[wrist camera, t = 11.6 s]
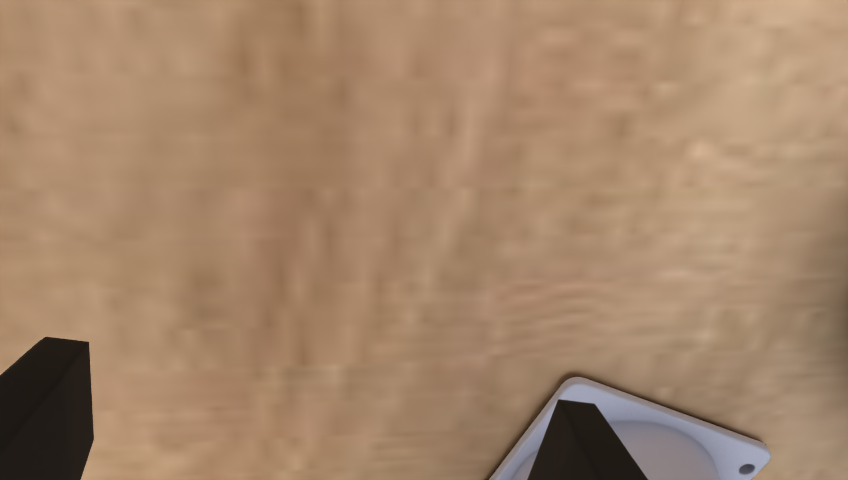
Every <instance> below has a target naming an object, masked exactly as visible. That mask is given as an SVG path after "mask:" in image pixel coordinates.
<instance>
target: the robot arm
mask: <svg viewBox="0 0 848 480" xmlns="http://www.w3.org/2000/svg"><path fill="white" fill-rule="evenodd" d="M93 440H94V434H93V414H92V394H91V374H90V354H89V342H85V341H77V340H68V339H60V338H52V337H45V338H43V339H42V340H40V341H39V342H38V343H37V344H35V345H34V346H33V347H32V348H31V349H30V350H29V351H27V352H26V353H25V354H24V355H23V356H22V357H21V358H19V359H18V360H17V361H16V362H15V363H14V364H13V365H11V366H10V367H9V368H8V369H7V370H6V371H5V372H4V373H2V374H1V375H0V480H80V479H81V476H82V474H83V471H84V468H85V464H86V461H87V458H88V455H89V452H90V449H91V446H92V443H93ZM770 459H771V454H770V452H769V450H768V448H767V446H766V444H764V443H762V442H760V441H757V440H754V439H752V438H749V437H746V436H743V435H741V434H738V433H735V432H732V431H730V430H727V429H724V428H721V427H719V426H716V425H713V424H710V423H708V422H705V421H702V420H699V419H697V418H694V417H691V416H688V415H686V414H683V413H680V412H677V411H674V410H672V409H669V408H666V407H663V406H661V405H658V404H655V403H652V402H650V401H647V400H644V399H641V398H639V397H636V396H633V395H630V394H628V393H625V392H622V391H619V390H617V389H614V388H611V387H608V386H606V385H603V384H600V383H597V382H595V381H592V380H589V379H586V378H583V377H572V378H570V379H568V380H566V381H565V382H564V383H563V384H562V385H561V386H560V387H559V389H558V390H557V391H556V393H555V394H554V395H553V397H552V398H551V399H550V400H549V402H548V403H547V404H546V406H545V407H544V408H543V410H542V411H541V412H540V414H539V415H538V416H537V417H536V419H535V420H534V421H533V423H532V424H531V425H530V427H529V428H528V429H527V431H526V432H525V433H524V434H523V436H522V437H521V438H520V440H519V441H518V442H517V444H516V445H515V446H514V448H513V449H512V450H511V451H510V453H509V454H508V455H507V457H506V458H505V459H504V461H503V462H502V463H501V464H500V466H499V467H498V468H497V470H496V471H495V472H494V474H493V475H492V476H491V478H490V479H489V480H751V479H752V478H753V477H754V476H755V475H756V474H757V473H758V472H759V471H760V470H761V469H762V468H763V467H764V466H765V465H766V464H767V463H768V462H769V460H770Z"/></svg>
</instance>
